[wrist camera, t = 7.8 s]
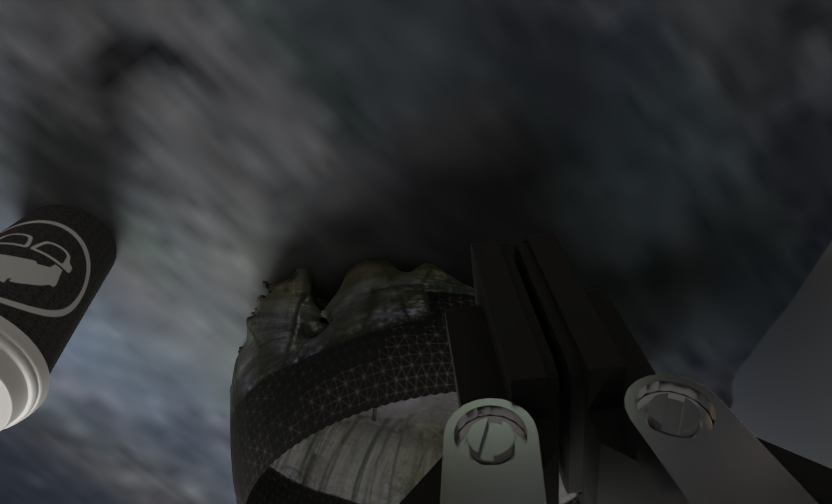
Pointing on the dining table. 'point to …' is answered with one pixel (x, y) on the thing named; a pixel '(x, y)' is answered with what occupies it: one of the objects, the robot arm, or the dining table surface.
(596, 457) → the robot arm
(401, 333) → the basket
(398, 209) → the dining table surface
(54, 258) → the coffee cup
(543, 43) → the dining table surface
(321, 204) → the dining table surface
